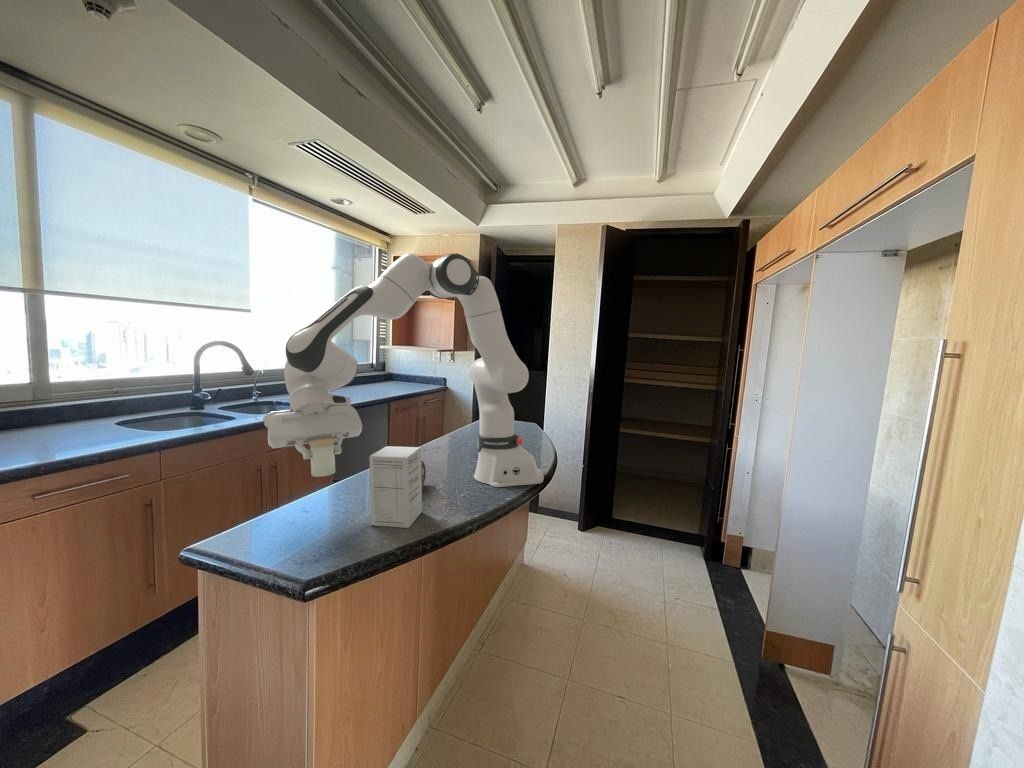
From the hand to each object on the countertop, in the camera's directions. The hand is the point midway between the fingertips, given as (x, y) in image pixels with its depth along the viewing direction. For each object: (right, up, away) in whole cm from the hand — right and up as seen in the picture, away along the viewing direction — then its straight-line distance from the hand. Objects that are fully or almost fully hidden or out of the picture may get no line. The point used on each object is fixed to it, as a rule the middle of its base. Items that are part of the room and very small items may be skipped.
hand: (323, 455), depth 88 cm
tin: (+15, -15, +21) cm, 30 cm away
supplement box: (+16, -16, +4) cm, 23 cm away
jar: (0, -4, +1) cm, 4 cm away
